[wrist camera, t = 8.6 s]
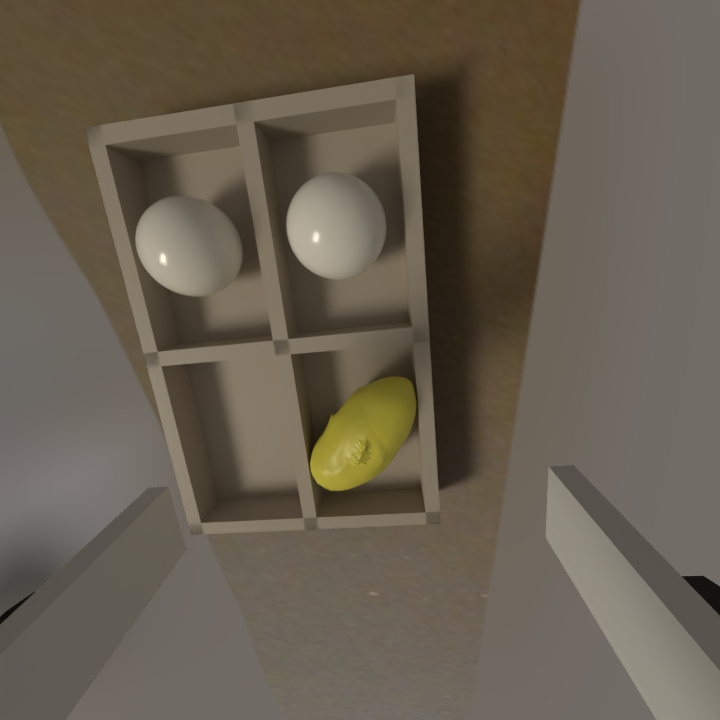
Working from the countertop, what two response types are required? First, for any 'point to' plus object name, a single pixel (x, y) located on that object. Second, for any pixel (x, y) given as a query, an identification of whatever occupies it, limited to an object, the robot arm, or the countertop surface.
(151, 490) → the robot arm
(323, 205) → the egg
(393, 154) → the divided tray
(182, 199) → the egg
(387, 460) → the yellow oval piece
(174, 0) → the countertop surface
